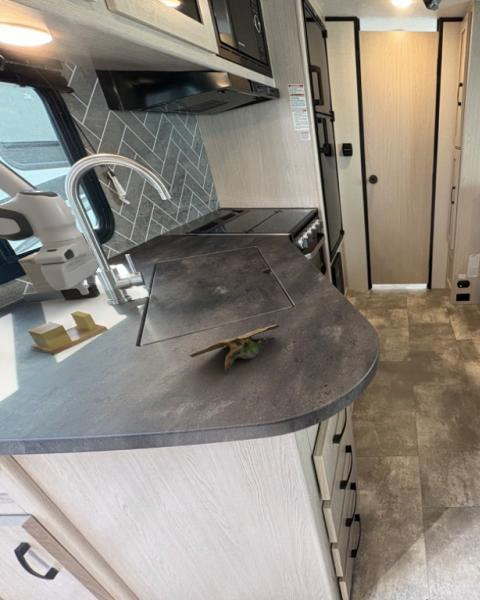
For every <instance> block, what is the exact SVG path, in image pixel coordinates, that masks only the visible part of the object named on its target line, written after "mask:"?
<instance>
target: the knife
mask: <svg viewBox="0 0 480 600" xmlns="http://www.w3.org/2000/svg"><path fill="white" fill-rule="evenodd" d="M84 285H85V286H86V287H89V288H90V290H91V292H90V293H89V294H86V295H82V294H81V292H80V291H79V290H78V289H77V288H76V287H74V286H73V287H72V288H70V289H65V290H55V291H45V292H37V291H36V292H27V293H21V294H20V295H21V297H22V299H23V300H24V301H25V303H26V304H34V303H42V302H52V301H61V300H65V301H69V300H78V299H88V298H96V297H98V296H99V295H101V292H100V291H99V288H98V285H97V283H96V284H91V285H87V284H84ZM96 285H97V286H96Z"/></svg>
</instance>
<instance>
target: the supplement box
mask: <svg viewBox="0 0 480 600" xmlns="http://www.w3.org/2000/svg"><path fill="white" fill-rule="evenodd" d="M38 252H39V251H37V252H36V251H35V252H33V253H32V254H29V255H26V256H24V257H22V258H20V259H18V260H17V261H18V263H19V264H20V266H21V267H22V269H23V271H24V272H25V274H26V276H27V278H28V279H29V281H30V283H31V284H32V286H33V287H34V289H35V291H36V292H45V291H55V289H53V288H52V287H51V286H50V285H49V283H48V282H47V280H46V278H45V277H44V275H43V273H42V271H41V265H42V264H37V263H36V262H35V260H34V256H35V255H36V254H37V253H38Z"/></svg>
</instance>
